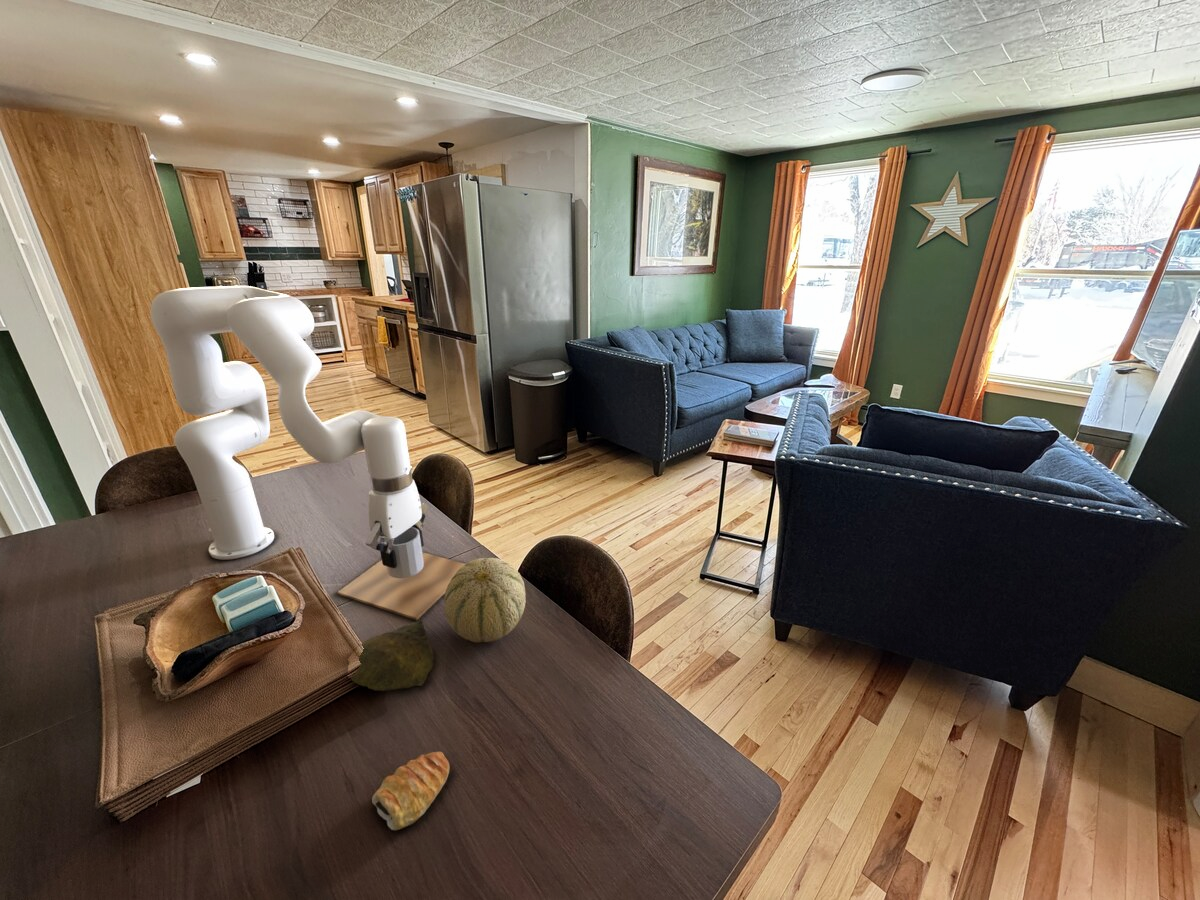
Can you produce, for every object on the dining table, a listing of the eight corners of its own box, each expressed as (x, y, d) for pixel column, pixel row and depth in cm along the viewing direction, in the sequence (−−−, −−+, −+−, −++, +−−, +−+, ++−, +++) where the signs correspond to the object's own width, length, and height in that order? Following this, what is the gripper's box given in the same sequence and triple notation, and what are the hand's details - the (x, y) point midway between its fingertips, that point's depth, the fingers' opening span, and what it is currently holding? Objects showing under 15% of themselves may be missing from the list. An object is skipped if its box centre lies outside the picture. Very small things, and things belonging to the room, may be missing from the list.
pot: (379, 573, 98) (373, 540, 95) (404, 554, 105) (399, 523, 102) (407, 581, 96) (402, 548, 93) (431, 562, 102) (426, 530, 99)
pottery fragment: (348, 713, 72) (343, 693, 71) (347, 648, 84) (343, 630, 82) (439, 682, 78) (436, 663, 76) (426, 625, 89) (424, 608, 88)
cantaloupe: (499, 593, 98) (495, 531, 93) (543, 631, 89) (541, 565, 83) (432, 628, 89) (423, 562, 83) (473, 675, 79) (466, 603, 74)
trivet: (337, 594, 97) (337, 592, 97) (400, 548, 113) (400, 546, 112) (416, 620, 91) (416, 618, 90) (471, 567, 106) (471, 565, 106)
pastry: (430, 749, 67) (427, 730, 66) (462, 778, 64) (460, 759, 62) (368, 807, 60) (363, 787, 59) (400, 843, 56) (396, 823, 55)
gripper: (407, 460, 101) (417, 531, 108) (340, 495, 86) (357, 575, 93) (436, 465, 99) (445, 538, 106) (372, 502, 84) (387, 584, 90)
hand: (403, 554), depth 99 cm, fingers closed on pot, 7 cm apart
